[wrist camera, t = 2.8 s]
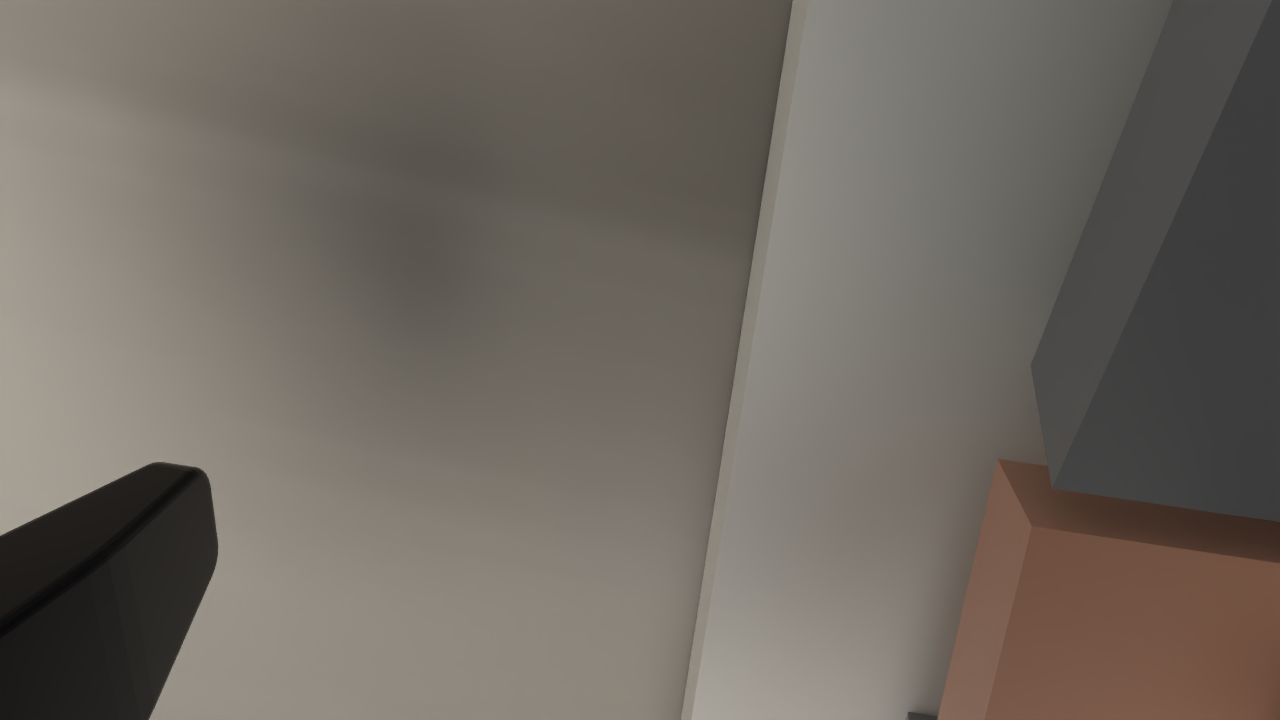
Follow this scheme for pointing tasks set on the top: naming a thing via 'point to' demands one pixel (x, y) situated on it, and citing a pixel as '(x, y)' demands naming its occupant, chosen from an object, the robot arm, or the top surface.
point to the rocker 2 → (1114, 610)
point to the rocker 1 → (1179, 284)
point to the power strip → (897, 335)
